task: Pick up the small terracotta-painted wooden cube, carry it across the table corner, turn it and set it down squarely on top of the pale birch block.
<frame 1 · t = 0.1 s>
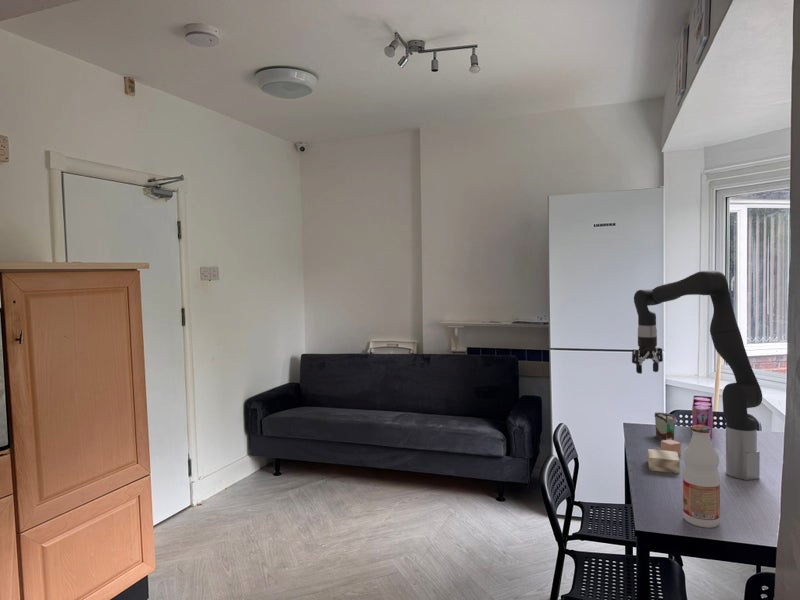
hand: (647, 372, 229), 29 cm above the table, fingers open, 8 cm apart
gum box: (702, 431, 240), on the table
birch block: (663, 467, 198), on the table
food container: (668, 438, 230), on the table
terracotta cube: (670, 454, 211), on the table
fruit juice: (701, 521, 155), on the table
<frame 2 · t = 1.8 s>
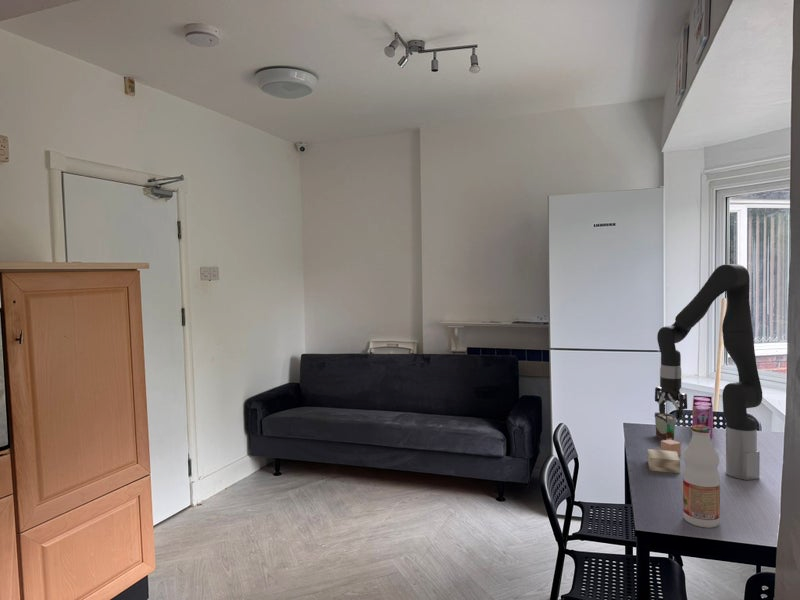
hand: (670, 416, 210), 15 cm above the table, fingers open, 8 cm apart
nothing on the table moved.
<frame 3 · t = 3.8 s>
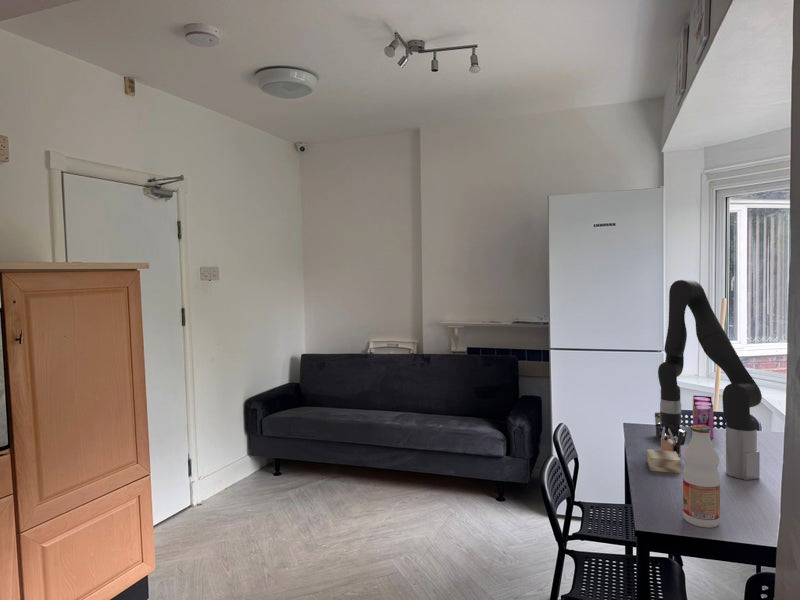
hand: (670, 452, 211), 1 cm above the table, fingers closed on terracotta cube, 5 cm apart
terracotta cube: (670, 454, 211), on the table, touching gripper
everything else where it was.
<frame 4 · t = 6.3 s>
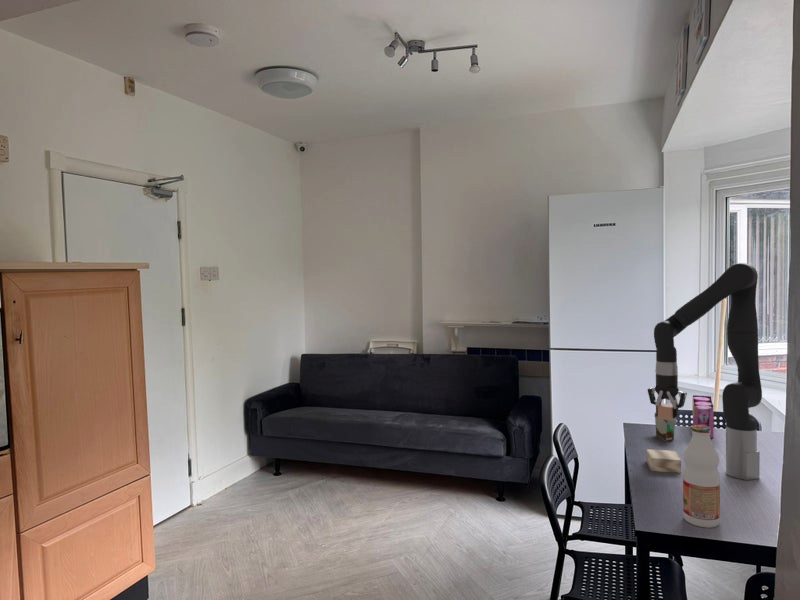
hand: (667, 416, 203), 17 cm above the table, fingers closed on terracotta cube, 5 cm apart
terracotta cube: (667, 418, 203), point 17 cm above the table, touching gripper
everything else where it was.
when the fingers open (7 cm above the table, at t = 9.2 s): terracotta cube drops 2 cm, resting on birch block.
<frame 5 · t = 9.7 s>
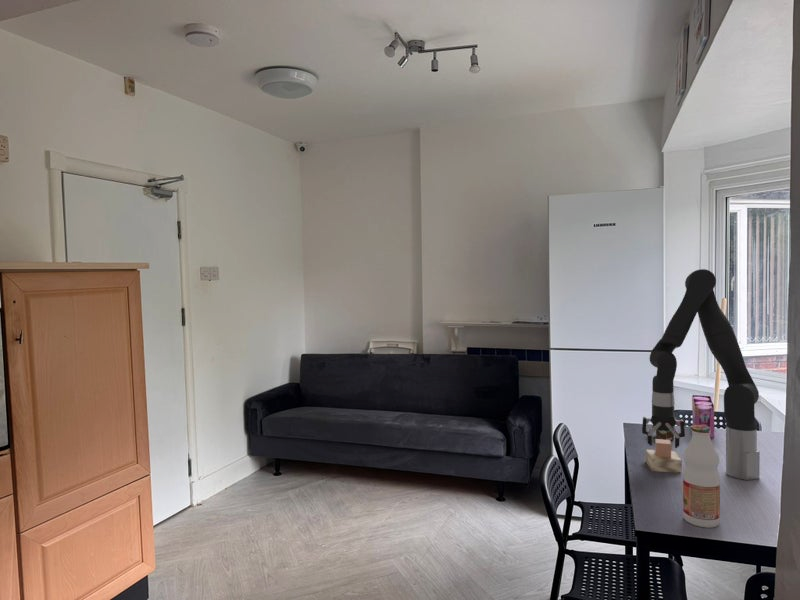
hand: (663, 446, 197), 8 cm above the table, fingers open, 8 cm apart
birch block: (663, 467, 198), on the table, touching terracotta cube
terracotta cube: (663, 454, 198), point 5 cm above the table, touching birch block
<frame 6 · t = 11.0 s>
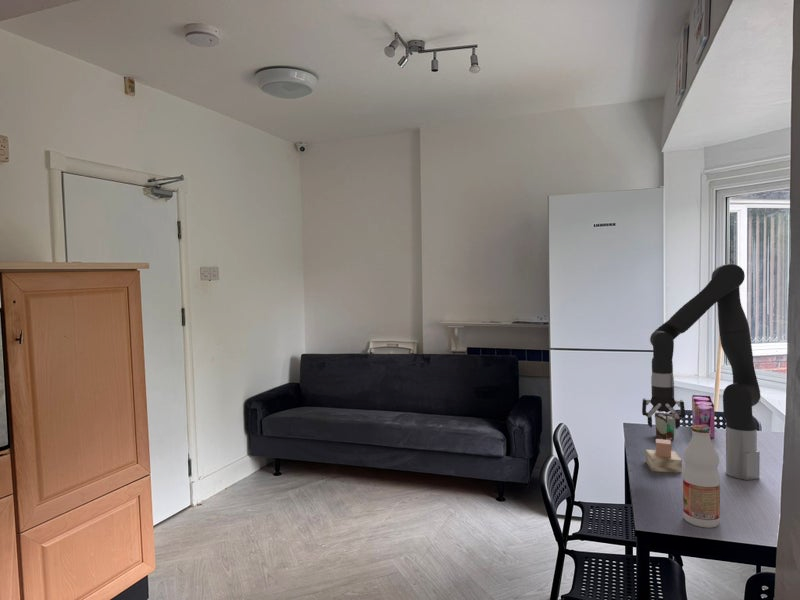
hand: (663, 427, 197), 15 cm above the table, fingers open, 8 cm apart
birch block: (663, 467, 198), on the table
terracotta cube: (663, 454, 198), point 5 cm above the table
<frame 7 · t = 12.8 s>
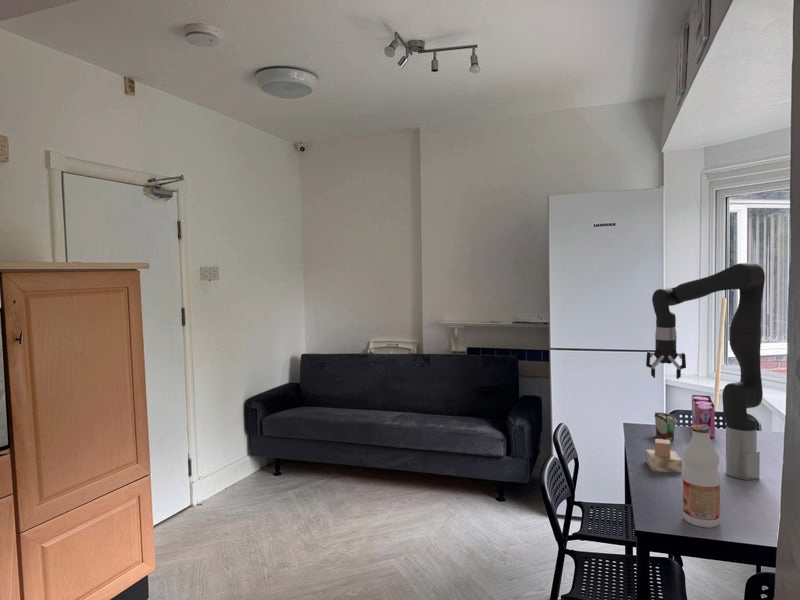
hand: (665, 378, 213), 30 cm above the table, fingers open, 8 cm apart
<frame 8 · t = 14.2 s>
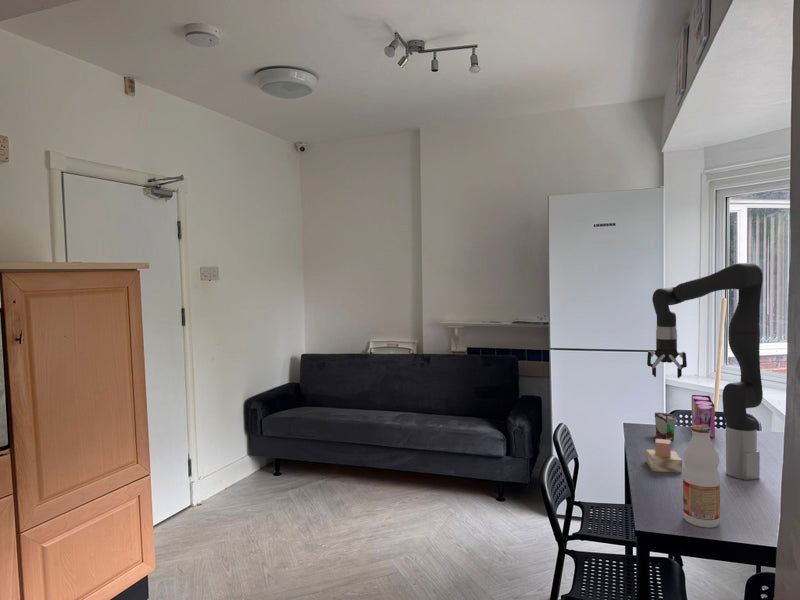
hand: (666, 377, 214), 30 cm above the table, fingers open, 8 cm apart
at the end: terracotta cube 0.2 cm off-centre on the birch block, point 5.0 cm above the birch block's base; terracotta cube tilted 0°; the gripper is holding nothing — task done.
